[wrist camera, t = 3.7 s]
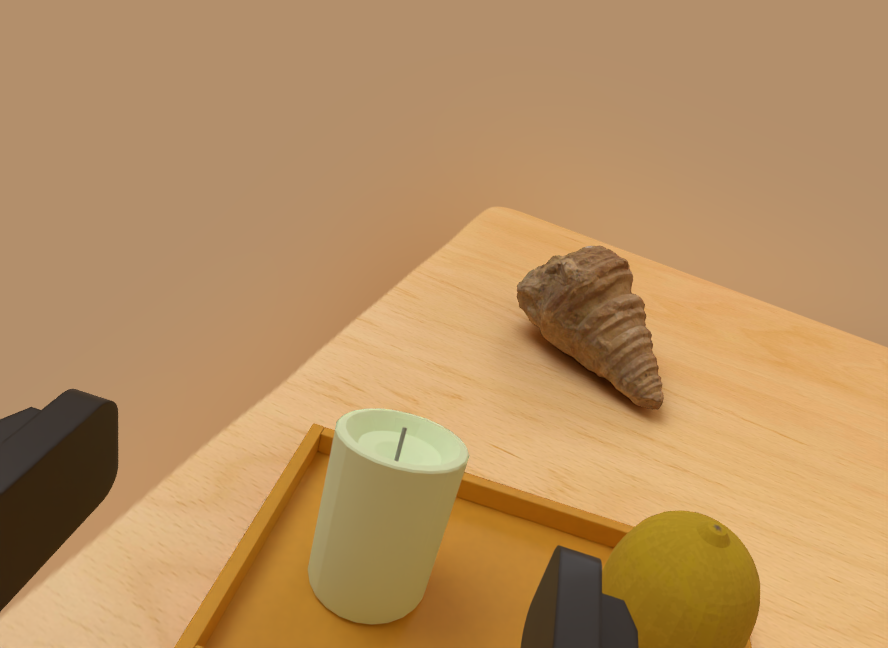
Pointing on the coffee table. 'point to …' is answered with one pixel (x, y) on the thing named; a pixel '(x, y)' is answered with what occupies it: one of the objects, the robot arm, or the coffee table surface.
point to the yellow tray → (449, 587)
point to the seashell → (595, 319)
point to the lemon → (685, 582)
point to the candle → (383, 513)
